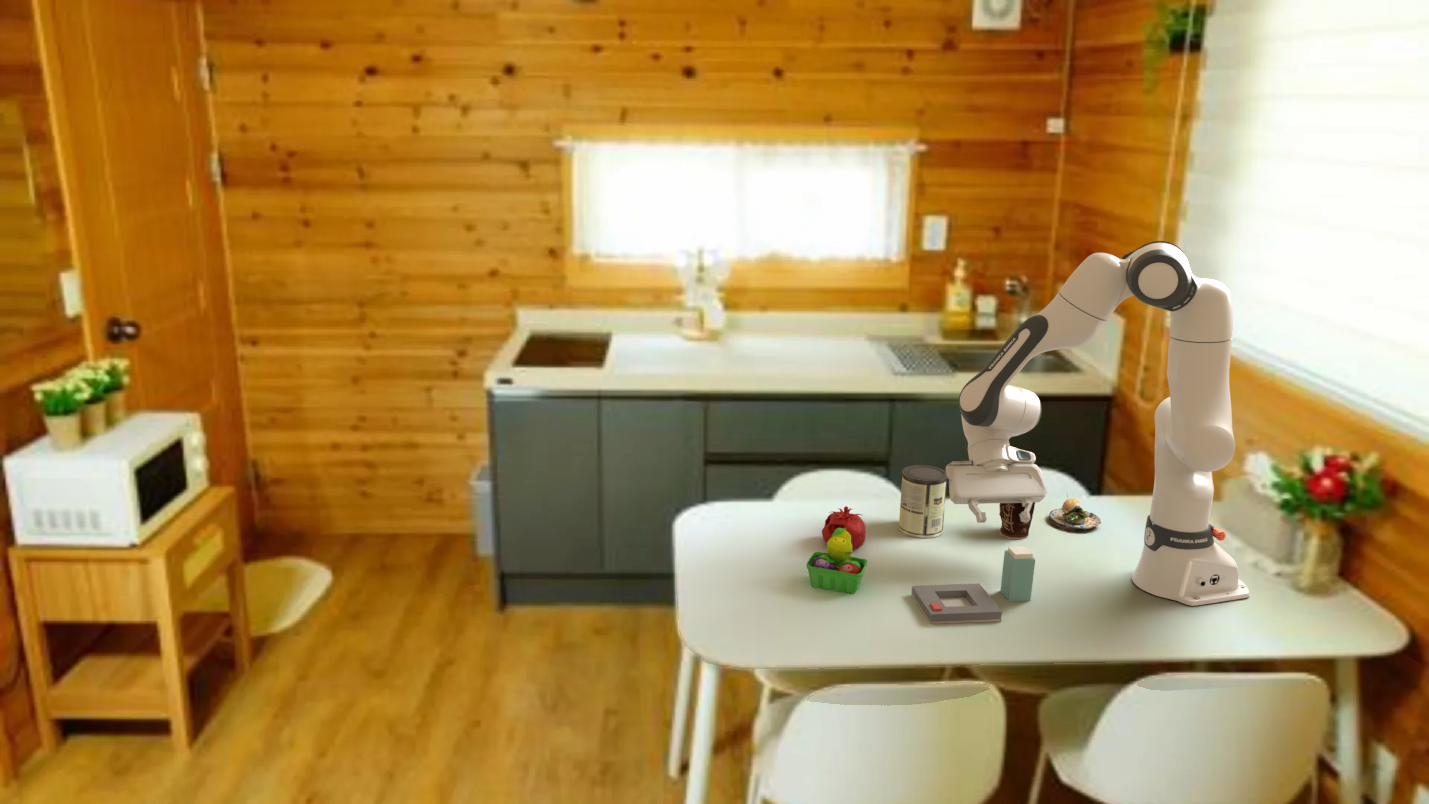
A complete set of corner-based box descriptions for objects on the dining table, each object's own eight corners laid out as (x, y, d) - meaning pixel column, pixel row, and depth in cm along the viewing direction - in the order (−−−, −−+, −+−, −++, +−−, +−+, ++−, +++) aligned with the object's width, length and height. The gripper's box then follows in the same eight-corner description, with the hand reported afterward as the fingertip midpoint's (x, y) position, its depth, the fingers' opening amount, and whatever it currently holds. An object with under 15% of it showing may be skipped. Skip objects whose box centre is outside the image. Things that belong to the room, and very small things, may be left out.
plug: (1021, 590, 213) (1026, 545, 210) (1030, 600, 209) (1035, 554, 206) (1000, 591, 212) (1005, 545, 210) (1008, 601, 208) (1014, 555, 205)
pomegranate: (853, 533, 239) (855, 495, 236) (873, 551, 230) (876, 512, 227) (813, 538, 236) (815, 500, 233) (832, 556, 227) (834, 516, 224)
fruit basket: (803, 588, 212) (806, 537, 209) (815, 570, 220) (817, 520, 217) (858, 598, 208) (862, 546, 205) (868, 580, 216) (872, 529, 213)
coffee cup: (1004, 523, 246) (1010, 471, 243) (1038, 533, 241) (1045, 480, 238) (988, 534, 240) (994, 481, 236) (1023, 544, 235) (1029, 490, 231)
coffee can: (907, 517, 249) (912, 461, 245) (949, 527, 243) (954, 470, 239) (890, 531, 240) (895, 474, 236) (933, 542, 235) (938, 483, 231)
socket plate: (978, 592, 212) (979, 581, 211) (1000, 621, 200) (1002, 609, 199) (911, 594, 210) (912, 583, 209) (930, 623, 198) (931, 612, 198)
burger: (1076, 538, 240) (1079, 508, 237) (1037, 520, 249) (1040, 491, 247) (1111, 528, 245) (1115, 499, 243) (1072, 511, 255) (1075, 482, 253)
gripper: (948, 455, 218) (960, 516, 212) (1042, 453, 221) (1056, 514, 214) (939, 467, 224) (950, 528, 217) (1031, 466, 226) (1044, 525, 220)
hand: (1004, 521), depth 216 cm, fingers open, 8 cm apart
